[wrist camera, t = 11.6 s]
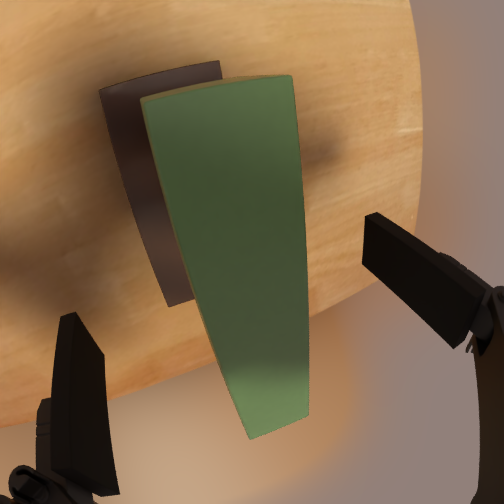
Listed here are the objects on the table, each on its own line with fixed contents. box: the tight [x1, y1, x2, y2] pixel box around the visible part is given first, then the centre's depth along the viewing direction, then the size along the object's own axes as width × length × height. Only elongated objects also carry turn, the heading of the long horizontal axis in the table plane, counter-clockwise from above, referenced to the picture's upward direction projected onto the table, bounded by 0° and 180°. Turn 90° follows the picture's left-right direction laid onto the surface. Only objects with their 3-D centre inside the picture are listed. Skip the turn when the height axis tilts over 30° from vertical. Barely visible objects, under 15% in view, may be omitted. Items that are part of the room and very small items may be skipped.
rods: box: [99, 60, 222, 307], centre depth 18 cm, size 18×8×11 cm, turn 8°
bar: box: [140, 75, 309, 440], centre depth 12 cm, size 16×4×4 cm, turn 8°
